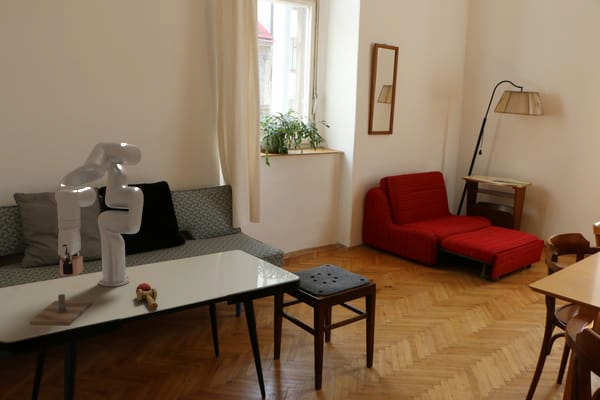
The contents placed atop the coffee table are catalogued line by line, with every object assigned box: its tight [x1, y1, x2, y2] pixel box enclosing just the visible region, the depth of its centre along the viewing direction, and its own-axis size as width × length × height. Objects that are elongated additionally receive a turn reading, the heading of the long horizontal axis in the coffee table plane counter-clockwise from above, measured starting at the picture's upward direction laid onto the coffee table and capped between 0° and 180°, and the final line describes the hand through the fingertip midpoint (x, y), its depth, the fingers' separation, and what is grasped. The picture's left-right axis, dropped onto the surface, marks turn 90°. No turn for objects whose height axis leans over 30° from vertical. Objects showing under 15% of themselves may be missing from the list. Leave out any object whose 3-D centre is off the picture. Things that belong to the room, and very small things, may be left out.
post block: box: [29, 293, 93, 326], centre depth 195 cm, size 20×14×7 cm
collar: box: [59, 255, 84, 276], centre depth 194 cm, size 6×6×6 cm
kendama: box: [135, 282, 159, 311], centre depth 208 cm, size 8×6×18 cm
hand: (71, 271), depth 194 cm, fingers closed on collar, 6 cm apart
